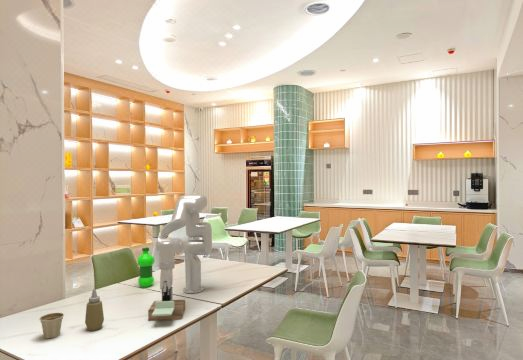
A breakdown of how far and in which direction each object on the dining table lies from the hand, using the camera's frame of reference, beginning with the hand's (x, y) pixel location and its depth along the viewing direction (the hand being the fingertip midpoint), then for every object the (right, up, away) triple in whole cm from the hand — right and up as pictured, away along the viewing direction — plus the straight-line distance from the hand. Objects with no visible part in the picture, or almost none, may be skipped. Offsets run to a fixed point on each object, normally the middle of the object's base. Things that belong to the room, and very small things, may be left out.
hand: (167, 300), depth 179 cm
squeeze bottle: (-30, -8, -16) cm, 34 cm away
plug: (0, -1, 0) cm, 1 cm away
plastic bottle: (-27, -8, +51) cm, 58 cm away
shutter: (+1, -2, -11) cm, 11 cm away
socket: (0, -7, 0) cm, 7 cm away
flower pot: (-45, -8, -23) cm, 51 cm away
